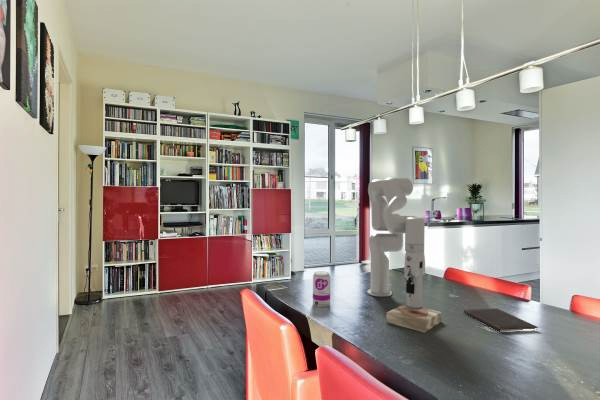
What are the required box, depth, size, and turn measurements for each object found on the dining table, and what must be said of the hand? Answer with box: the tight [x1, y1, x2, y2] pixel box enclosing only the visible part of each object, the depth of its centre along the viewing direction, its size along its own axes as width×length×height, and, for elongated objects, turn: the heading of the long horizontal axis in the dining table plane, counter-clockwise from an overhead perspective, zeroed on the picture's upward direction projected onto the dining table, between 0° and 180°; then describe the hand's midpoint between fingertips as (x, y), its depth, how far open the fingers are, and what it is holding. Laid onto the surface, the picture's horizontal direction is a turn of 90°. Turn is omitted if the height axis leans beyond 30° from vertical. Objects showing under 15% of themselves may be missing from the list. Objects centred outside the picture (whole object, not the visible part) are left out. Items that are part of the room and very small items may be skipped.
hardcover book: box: [463, 308, 539, 332], centre depth 147 cm, size 16×23×2 cm
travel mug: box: [405, 261, 424, 310], centre depth 146 cm, size 6×7×20 cm
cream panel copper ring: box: [385, 303, 442, 333], centre depth 146 cm, size 16×16×4 cm
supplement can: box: [312, 271, 331, 308], centre depth 168 cm, size 8×8×15 cm
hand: (414, 291), depth 146 cm, fingers closed on travel mug, 6 cm apart
